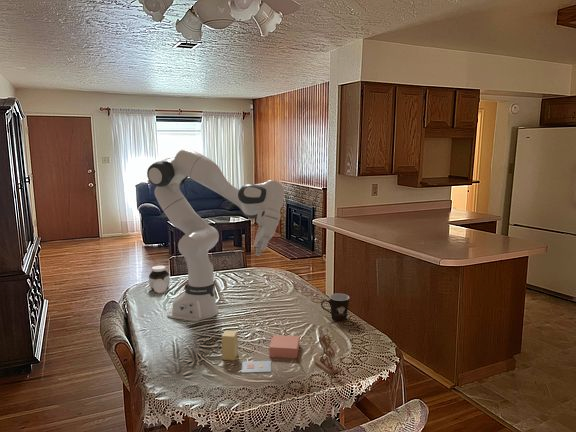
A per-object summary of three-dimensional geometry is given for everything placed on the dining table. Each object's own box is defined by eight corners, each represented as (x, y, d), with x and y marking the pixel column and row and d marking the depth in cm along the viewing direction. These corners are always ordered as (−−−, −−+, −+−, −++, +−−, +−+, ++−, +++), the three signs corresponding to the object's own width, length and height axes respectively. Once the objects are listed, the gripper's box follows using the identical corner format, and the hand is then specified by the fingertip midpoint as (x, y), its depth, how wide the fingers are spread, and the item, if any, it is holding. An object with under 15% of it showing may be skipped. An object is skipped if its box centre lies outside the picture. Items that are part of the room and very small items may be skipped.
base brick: (269, 357, 157) (269, 347, 156) (273, 344, 167) (273, 334, 166) (296, 359, 156) (296, 348, 155) (299, 346, 165) (299, 336, 165)
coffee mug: (350, 316, 192) (351, 294, 190) (346, 323, 184) (347, 301, 182) (325, 312, 196) (325, 291, 194) (320, 320, 188) (320, 298, 186)
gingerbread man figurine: (339, 371, 146) (339, 338, 144) (330, 374, 144) (330, 341, 142) (323, 360, 154) (323, 328, 152) (314, 363, 152) (314, 331, 150)
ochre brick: (222, 359, 155) (221, 335, 153) (225, 353, 159) (225, 330, 158) (234, 360, 154) (233, 336, 153) (237, 354, 159) (237, 331, 157)
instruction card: (241, 372, 146) (241, 371, 146) (242, 362, 153) (242, 361, 153) (270, 372, 146) (270, 371, 146) (270, 361, 153) (270, 360, 153)
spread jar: (162, 284, 234) (161, 263, 232) (176, 288, 228) (175, 267, 226) (144, 290, 225) (142, 269, 223) (157, 295, 218) (156, 273, 216)
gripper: (254, 224, 179) (247, 256, 174) (266, 209, 161) (258, 243, 156) (269, 228, 181) (262, 260, 175) (282, 213, 162) (275, 248, 157)
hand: (260, 252), depth 165 cm, fingers open, 8 cm apart
